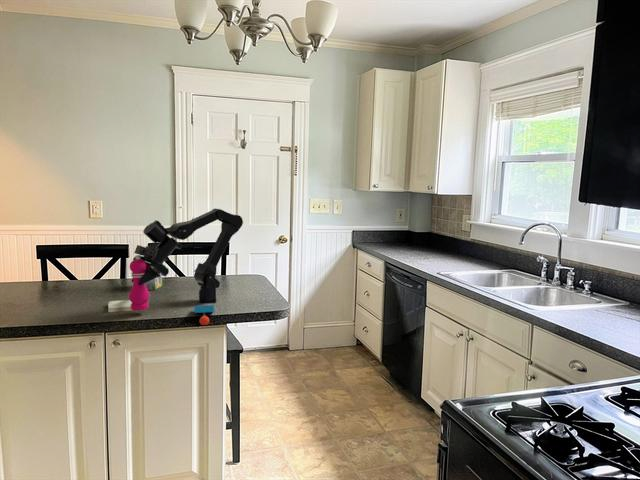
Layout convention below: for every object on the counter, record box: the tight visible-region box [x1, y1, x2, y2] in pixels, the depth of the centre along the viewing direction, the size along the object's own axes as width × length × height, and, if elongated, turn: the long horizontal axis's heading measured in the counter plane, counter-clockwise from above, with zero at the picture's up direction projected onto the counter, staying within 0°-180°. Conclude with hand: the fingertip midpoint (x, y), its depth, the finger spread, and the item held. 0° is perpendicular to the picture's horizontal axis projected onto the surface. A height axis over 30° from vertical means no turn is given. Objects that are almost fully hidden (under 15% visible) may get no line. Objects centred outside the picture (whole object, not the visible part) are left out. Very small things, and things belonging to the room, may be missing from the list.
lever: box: [193, 304, 215, 326], centre depth 171 cm, size 7×7×18 cm
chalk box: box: [143, 256, 163, 291], centre depth 212 cm, size 9×9×15 cm
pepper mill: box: [128, 254, 151, 311], centre depth 172 cm, size 7×7×20 cm
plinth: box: [107, 299, 133, 313], centre depth 181 cm, size 10×10×2 cm
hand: (135, 283), depth 171 cm, fingers closed on pepper mill, 5 cm apart
